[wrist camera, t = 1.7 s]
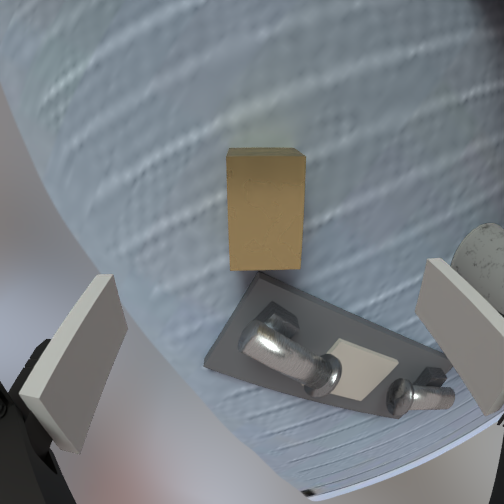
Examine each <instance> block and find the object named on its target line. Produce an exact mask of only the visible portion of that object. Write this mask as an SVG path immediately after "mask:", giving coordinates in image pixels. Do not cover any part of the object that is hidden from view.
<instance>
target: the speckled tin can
mask: <svg viewBox="0 0 504 504" xmlns="http://www.w3.org/2000/svg"><path fill="white" fill-rule="evenodd" d="M451 268H453V269H454V270H455V271H456V272H457V273H458V274H459V275H460V276H461V277H462V278H463V279H465V280H466V281H467V282H468V283H469V284H470V285H471V286H472V287H473V288H474V289H475V290H476V291H477V292H478V293H479V294H480V295H481V296H482V297H483V298H484V299H485V300H486V301H487V302H488V303H489V304H491V306H492V307H493V308H494V309H495V310H497V311H499V312H500V313H502V314H503V315H504V229H502V228H501V227H500V226H499V225H497V224H494V223H486V224H483V225H480V226H478V227H476V228H475V229H473V230H472V231H471V232H470V233H469V234H468V235H467V236H466V237H465V238H464V239H463V241H462V242H461V243H460V245H459V247H458V248H457V250H456V252H455V254H454V257H453V259H452V263H451Z"/></svg>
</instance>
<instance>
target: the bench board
mask: <svg viewBox="0 0 504 504" xmlns="http://www.w3.org/2000/svg"><path fill="white" fill-rule="evenodd" d="M271 301H274V302H275V303H277V304H278V305H280V306H281V307H283V308H285V309H286V310H288V311H289V312H291V313H292V314H294V315H295V316H297V319H298V323H299V327H300V330H299V331H298V332H297V333H296V334H295V335H294V336H293V337H292V338H291V340H292V341H294V342H296V343H297V344H299V345H301V346H303V347H304V348H306V349H308V350H310V351H311V352H313V353H315V354H317V355H318V356H321V355H324V354H326V353H327V352H328V351H329V350H330V348H331V347H332V346H333V345H334V344H335V342H336V341H337V340H338V339H339V338H340V339H343V340H345V341H348V342H351V343H353V344H356V345H358V346H361V347H364V348H366V349H369V350H372V351H374V352H377V353H380V354H383V355H385V356H388V357H391V358H394V359H396V360H398V362H399V364H398V365H397V366H396V367H395V368H394V369H393V370H392V371H391V372H390V373H389V374H388V375H387V376H386V377H385V378H384V379H383V380H382V381H381V382H380V383H379V384H378V385H377V386H376V387H375V388H374V389H373V390H372V391H371V392H370V393H369V394H368V395H367V396H366V397H365V398H364V399H363V400H362V401H359V400H355V399H350V398H346V397H342V396H339V395H335V394H331V393H330V394H328V395H327V396H325V397H323V398H314V397H312V396H310V395H308V394H307V393H306V392H305V390H304V386H302V383H300V382H297V381H295V380H293V379H291V378H289V377H287V376H285V375H283V374H281V373H279V372H277V371H275V370H273V369H271V368H269V367H267V366H266V365H264V364H262V363H260V362H258V361H256V360H254V359H252V358H250V357H248V356H247V355H245V354H243V353H241V352H239V351H238V341H239V338H240V336H241V334H242V331H243V330H244V329H245V328H246V327H247V325H248V324H249V323H251V322H252V321H253V319H254V318H255V317H256V316H257V315H258V314H259V313H260V312H261V311H262V310H263V309H264V308H265V307H266V306H267V305H268V304H269V303H270V302H271ZM203 367H206V368H209V369H211V370H214V371H217V372H220V373H223V374H226V375H228V376H231V377H234V378H237V379H240V380H243V381H246V382H249V383H253V384H256V385H259V386H262V387H265V388H269V389H272V390H275V391H279V392H282V393H286V394H289V395H293V396H297V397H300V398H304V399H308V400H312V401H315V402H319V403H323V404H328V405H332V406H336V407H340V408H345V409H349V410H354V411H359V412H363V413H368V414H373V415H379V416H384V417H390V418H395V419H399V418H400V417H402V416H403V415H400V416H395V415H392V414H390V413H389V411H388V409H387V406H386V395H387V392H388V389H389V387H390V385H391V384H392V383H393V382H394V381H395V380H396V379H399V378H403V379H408V380H409V381H410V382H411V383H412V384H413V383H414V382H415V380H416V379H417V378H418V377H419V375H420V374H421V373H422V372H423V370H424V369H425V368H426V367H436V368H441V369H442V370H443V372H444V373H445V375H446V373H447V372H448V371H449V370H450V369H451V368H452V367H453V365H452V364H451V362H450V361H449V359H448V358H447V356H446V355H445V354H443V353H441V352H439V351H436V350H434V349H432V348H429V347H427V346H425V345H423V344H420V343H418V342H416V341H413V340H411V339H409V338H406V337H404V336H402V335H400V334H397V333H395V332H393V331H390V330H388V329H386V328H384V327H381V326H379V325H377V324H375V323H372V322H370V321H368V320H365V319H363V318H361V317H359V316H356V315H354V314H352V313H350V312H347V311H345V310H343V309H341V308H339V307H336V306H334V305H332V304H330V303H327V302H325V301H323V300H321V299H318V298H316V297H314V296H312V295H310V294H307V293H305V292H303V291H301V290H299V289H296V288H294V287H292V286H290V285H288V284H285V283H283V282H281V281H279V280H277V279H274V278H272V277H270V276H268V275H266V274H263V273H261V272H258V273H257V275H256V277H255V278H254V280H253V282H252V283H251V285H250V286H249V288H248V290H247V291H246V293H245V295H244V296H243V298H242V299H241V301H240V303H239V304H238V306H237V307H236V309H235V311H234V312H233V314H232V316H231V317H230V319H229V320H228V322H227V324H226V325H225V327H224V328H223V330H222V332H221V333H220V335H219V336H218V338H217V340H216V341H215V343H214V344H213V346H212V347H211V349H210V351H209V352H208V354H207V355H206V357H205V359H204V366H203Z"/></svg>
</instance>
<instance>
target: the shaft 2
mask: <svg viewBox="0 0 504 504" xmlns="http://www.w3.org/2000/svg"><path fill="white" fill-rule="evenodd" d="M446 379H447V377H446V375H445V373H444V372H443V370H442V369H441V368H436V367H426V368H425V369H424V370H423V372H422V373H421V374H420V375H419V377H418V378H417V379H416V380H415V382H414V383H413V384H412V383H411V382H410V381H409V380H408V379H403V378H399V379H396V380H395V381H394V382H393V383H392V384H391V385H390V387H389V389H388V392H387V395H386V406H387V409H388V411H389V413H390V414H392V415H395V416H400V415H404V414H405V413H407V412H408V410H440V409H448V408H450V407H451V406H452V405H453V403H454V400H455V392H454V390H453V389H452V388H451V387H441V386H442V384H443V383H444V382H445V381H446Z"/></svg>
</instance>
